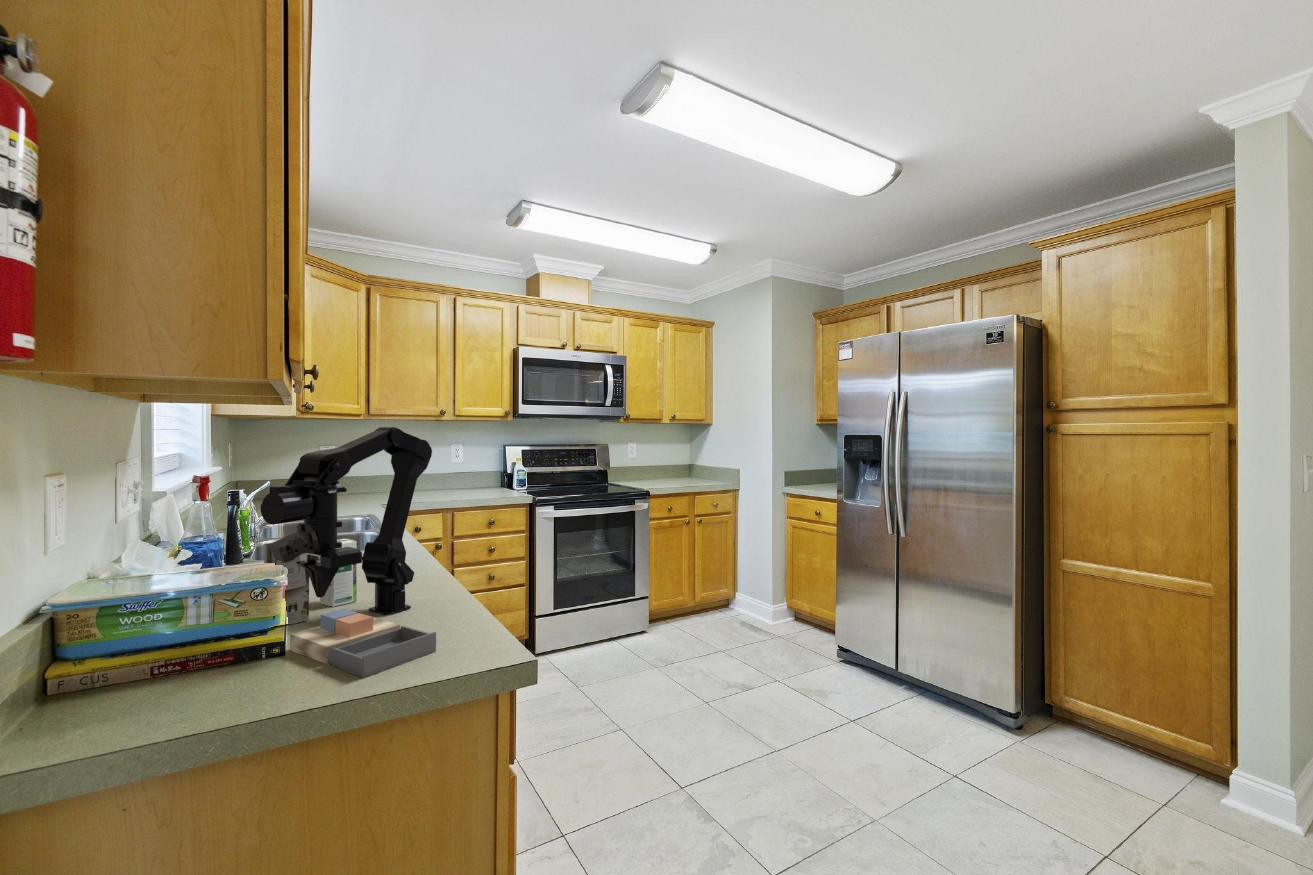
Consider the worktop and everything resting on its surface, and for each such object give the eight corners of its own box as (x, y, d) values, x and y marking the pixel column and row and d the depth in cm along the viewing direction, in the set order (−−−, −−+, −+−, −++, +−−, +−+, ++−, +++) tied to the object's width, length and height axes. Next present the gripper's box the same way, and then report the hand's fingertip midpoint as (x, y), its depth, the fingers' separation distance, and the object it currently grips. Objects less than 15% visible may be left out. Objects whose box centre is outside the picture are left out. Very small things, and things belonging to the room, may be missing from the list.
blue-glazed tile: (320, 627, 111) (320, 614, 111) (343, 621, 115) (343, 608, 115) (333, 632, 109) (334, 618, 109) (357, 625, 113) (357, 612, 113)
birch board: (290, 650, 108) (290, 633, 108) (362, 629, 120) (362, 614, 120) (327, 664, 102) (327, 646, 102) (399, 640, 114) (399, 624, 114)
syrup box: (332, 607, 134) (333, 543, 134) (318, 603, 137) (319, 541, 137) (357, 601, 139) (357, 540, 139) (343, 597, 142) (343, 537, 142)
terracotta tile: (335, 632, 109) (335, 619, 109) (358, 626, 112) (358, 613, 112) (349, 637, 106) (349, 623, 106) (373, 630, 110) (373, 617, 110)
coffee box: (310, 620, 124) (311, 544, 124) (275, 628, 120) (275, 548, 120) (296, 611, 131) (297, 538, 131) (262, 618, 126) (263, 542, 126)
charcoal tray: (329, 664, 101) (329, 644, 101) (401, 640, 113) (401, 622, 113) (364, 677, 96) (364, 656, 96) (436, 651, 108) (436, 632, 108)
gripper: (251, 518, 113) (250, 599, 113) (304, 527, 103) (304, 615, 104) (310, 511, 123) (309, 586, 123) (364, 519, 113) (363, 600, 113)
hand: (320, 596), depth 115 cm, fingers closed
